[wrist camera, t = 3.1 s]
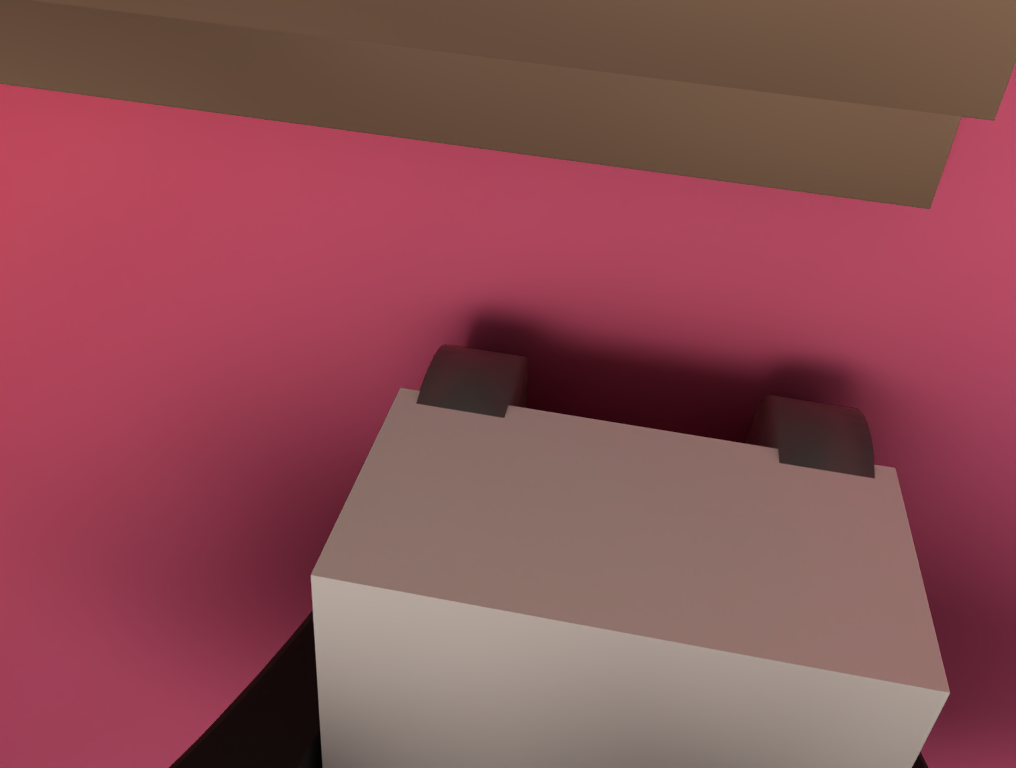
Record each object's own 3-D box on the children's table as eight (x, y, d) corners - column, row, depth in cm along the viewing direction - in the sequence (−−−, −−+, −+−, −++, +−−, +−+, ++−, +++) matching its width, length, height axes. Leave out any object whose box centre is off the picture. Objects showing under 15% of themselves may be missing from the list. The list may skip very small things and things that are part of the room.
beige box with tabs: (714, 830, 14) (713, 1154, 11) (423, 770, 15) (340, 1065, 12) (874, 359, 10) (955, 683, 6) (441, 294, 10) (309, 565, 7)
